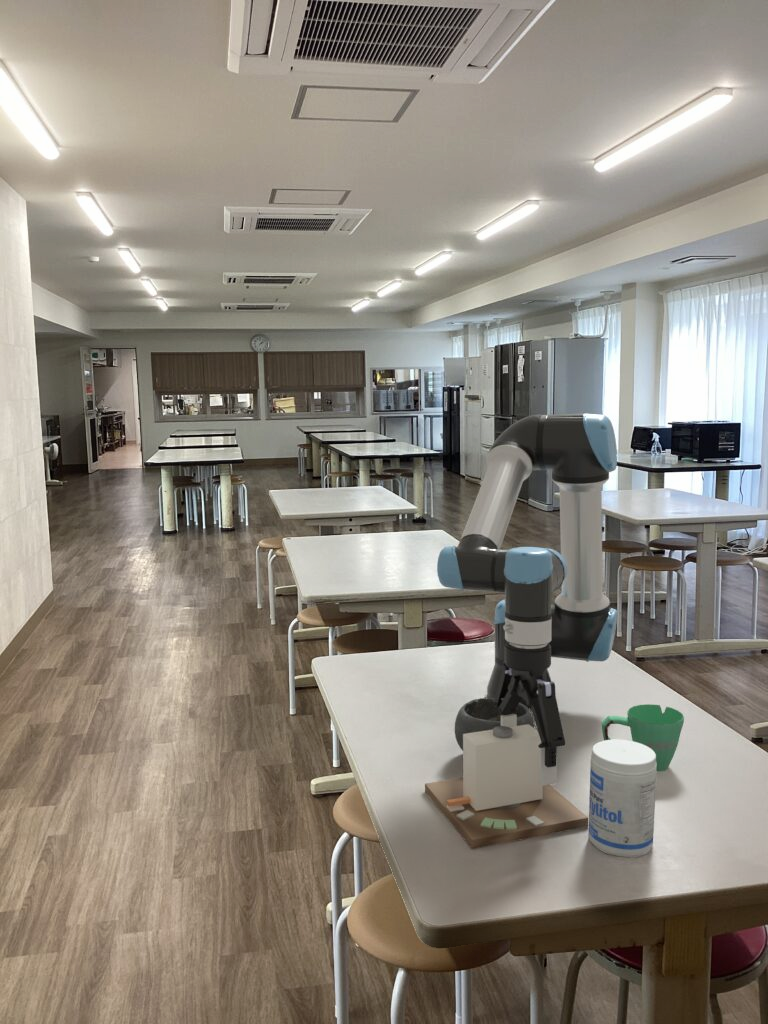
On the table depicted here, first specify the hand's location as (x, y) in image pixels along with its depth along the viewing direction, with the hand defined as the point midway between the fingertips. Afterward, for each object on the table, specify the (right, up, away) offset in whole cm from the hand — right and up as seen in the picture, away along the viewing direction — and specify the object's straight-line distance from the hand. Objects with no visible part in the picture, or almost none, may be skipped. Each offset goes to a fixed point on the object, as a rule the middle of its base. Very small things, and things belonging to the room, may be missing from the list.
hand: (526, 767), depth 138 cm
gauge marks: (-6, -6, -6) cm, 10 cm away
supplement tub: (+12, -8, -12) cm, 19 cm away
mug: (+24, -5, +15) cm, 28 cm away
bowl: (-3, -5, +19) cm, 20 cm away
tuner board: (-4, -7, 0) cm, 8 cm away
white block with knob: (-6, -5, -1) cm, 8 cm away
